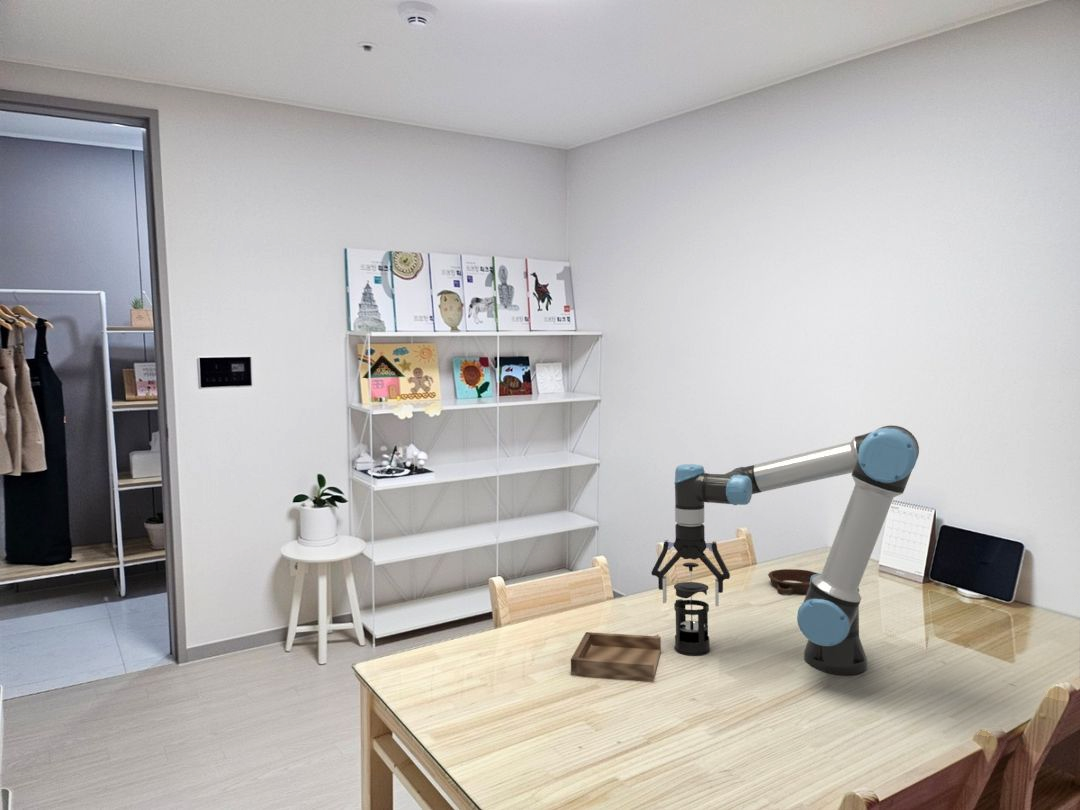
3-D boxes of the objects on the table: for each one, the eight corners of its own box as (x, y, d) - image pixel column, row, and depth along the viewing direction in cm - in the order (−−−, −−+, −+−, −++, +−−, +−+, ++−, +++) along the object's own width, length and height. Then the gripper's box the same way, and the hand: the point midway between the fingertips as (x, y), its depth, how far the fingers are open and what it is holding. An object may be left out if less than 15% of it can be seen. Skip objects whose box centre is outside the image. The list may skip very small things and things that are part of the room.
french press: (719, 653, 196) (717, 565, 195) (688, 659, 192) (686, 570, 192) (693, 639, 207) (692, 556, 206) (664, 644, 203) (662, 560, 202)
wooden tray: (660, 651, 198) (660, 636, 198) (653, 681, 179) (653, 665, 179) (586, 646, 203) (585, 632, 203) (571, 675, 184) (570, 659, 184)
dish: (755, 592, 250) (755, 577, 249) (785, 578, 266) (785, 564, 265) (806, 602, 238) (806, 587, 237) (834, 587, 254) (834, 572, 253)
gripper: (738, 522, 198) (739, 601, 199) (643, 519, 205) (644, 596, 205) (738, 527, 191) (739, 610, 192) (640, 524, 197) (641, 604, 198)
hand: (690, 603), depth 199 cm, fingers open, 13 cm apart
